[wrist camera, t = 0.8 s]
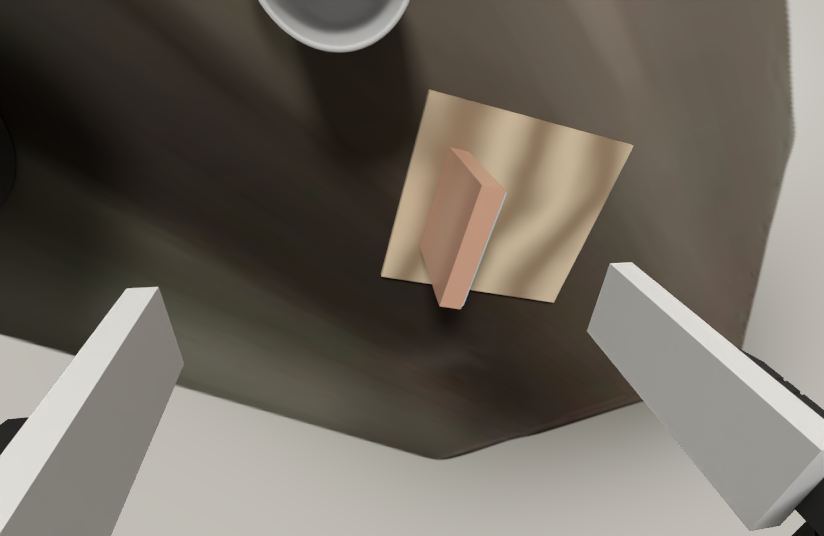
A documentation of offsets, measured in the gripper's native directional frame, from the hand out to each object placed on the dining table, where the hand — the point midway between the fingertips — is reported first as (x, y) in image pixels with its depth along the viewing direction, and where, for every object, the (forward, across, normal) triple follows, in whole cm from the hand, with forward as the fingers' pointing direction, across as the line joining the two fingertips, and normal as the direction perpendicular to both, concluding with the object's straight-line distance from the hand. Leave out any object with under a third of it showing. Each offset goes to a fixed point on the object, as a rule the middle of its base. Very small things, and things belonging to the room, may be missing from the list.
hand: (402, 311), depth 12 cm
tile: (+25, +8, -7) cm, 27 cm away
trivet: (+26, +14, -8) cm, 30 cm away
